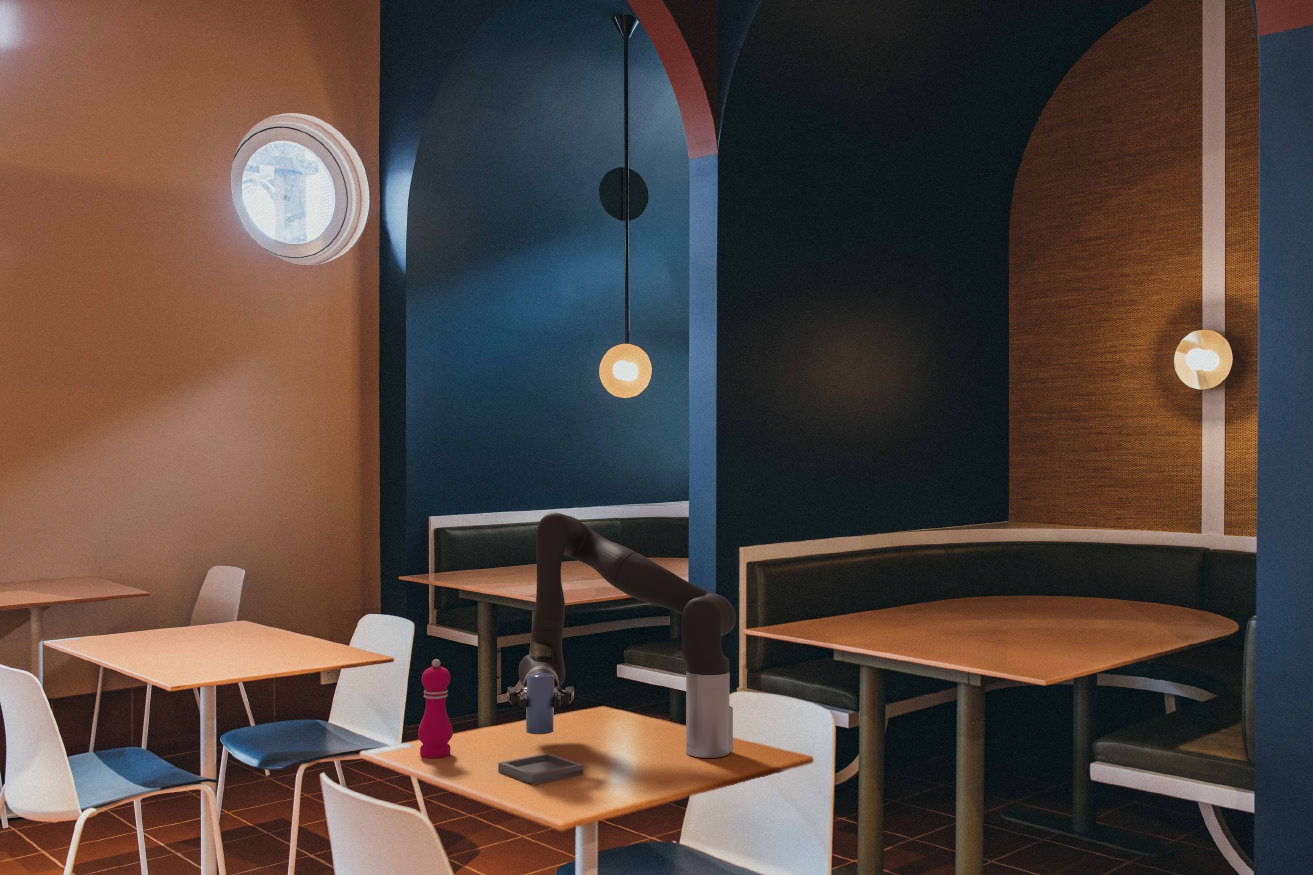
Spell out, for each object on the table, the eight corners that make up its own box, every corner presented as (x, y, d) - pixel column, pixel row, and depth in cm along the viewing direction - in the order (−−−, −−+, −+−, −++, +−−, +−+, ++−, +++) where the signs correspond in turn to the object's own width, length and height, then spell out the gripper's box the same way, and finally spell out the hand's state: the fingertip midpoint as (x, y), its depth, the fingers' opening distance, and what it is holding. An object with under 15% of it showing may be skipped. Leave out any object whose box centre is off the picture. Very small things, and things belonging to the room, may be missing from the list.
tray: (548, 761, 222) (548, 752, 222) (583, 773, 213) (583, 764, 213) (498, 771, 214) (498, 762, 214) (532, 784, 205) (532, 775, 205)
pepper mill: (459, 752, 229) (460, 657, 230) (438, 760, 223) (439, 662, 224) (431, 748, 232) (432, 655, 233) (410, 756, 226) (411, 660, 227)
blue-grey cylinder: (543, 726, 218) (544, 671, 218) (558, 731, 214) (559, 675, 214) (520, 730, 214) (521, 674, 215) (536, 735, 210) (536, 678, 211)
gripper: (507, 668, 228) (503, 684, 211) (575, 667, 229) (577, 683, 212) (506, 704, 228) (502, 722, 211) (574, 703, 229) (576, 722, 212)
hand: (540, 703), depth 212 cm, fingers closed on blue-grey cylinder, 5 cm apart
